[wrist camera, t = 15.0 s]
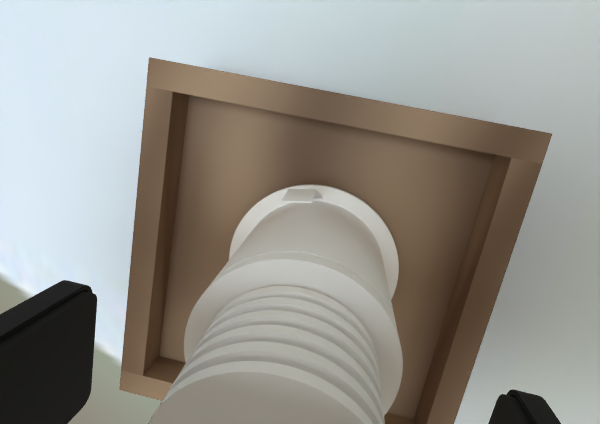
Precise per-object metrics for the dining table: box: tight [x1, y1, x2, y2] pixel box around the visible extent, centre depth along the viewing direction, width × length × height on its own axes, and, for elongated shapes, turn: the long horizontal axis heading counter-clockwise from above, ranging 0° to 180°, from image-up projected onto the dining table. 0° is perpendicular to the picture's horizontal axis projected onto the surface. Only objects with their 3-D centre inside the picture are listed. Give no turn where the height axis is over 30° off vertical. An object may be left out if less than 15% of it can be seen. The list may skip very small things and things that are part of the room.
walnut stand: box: [120, 57, 552, 424], centre depth 18 cm, size 14×14×6 cm
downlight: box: [148, 184, 403, 424], centre depth 12 cm, size 8×7×10 cm
